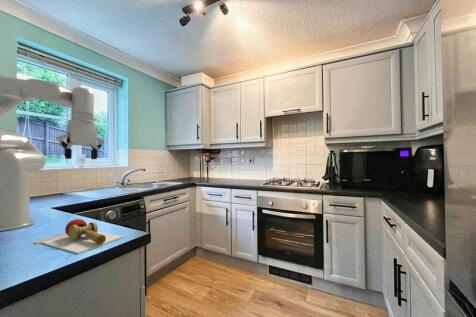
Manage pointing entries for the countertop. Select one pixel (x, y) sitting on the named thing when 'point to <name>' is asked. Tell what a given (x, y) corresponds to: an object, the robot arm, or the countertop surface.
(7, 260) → the countertop surface
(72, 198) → the countertop surface
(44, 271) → the countertop surface
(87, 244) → the mat
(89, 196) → the countertop surface
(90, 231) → the kendama
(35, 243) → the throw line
